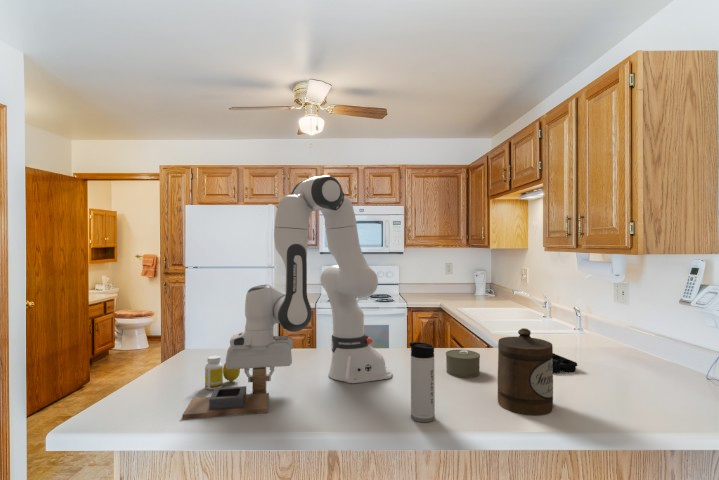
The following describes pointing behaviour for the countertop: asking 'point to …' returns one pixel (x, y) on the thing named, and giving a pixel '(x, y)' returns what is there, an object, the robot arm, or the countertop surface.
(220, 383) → the supplement bottle
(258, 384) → the square bar
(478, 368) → the can
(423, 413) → the travel mug
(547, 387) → the wooden container
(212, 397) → the collar
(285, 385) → the countertop surface
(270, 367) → the robot arm
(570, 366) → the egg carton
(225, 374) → the lemon
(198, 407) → the dock board
